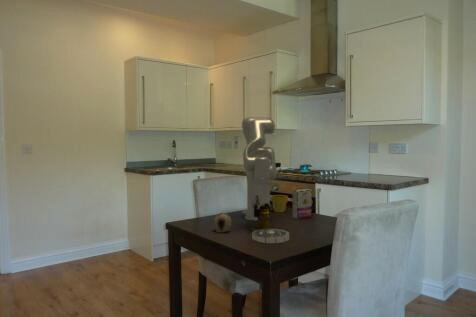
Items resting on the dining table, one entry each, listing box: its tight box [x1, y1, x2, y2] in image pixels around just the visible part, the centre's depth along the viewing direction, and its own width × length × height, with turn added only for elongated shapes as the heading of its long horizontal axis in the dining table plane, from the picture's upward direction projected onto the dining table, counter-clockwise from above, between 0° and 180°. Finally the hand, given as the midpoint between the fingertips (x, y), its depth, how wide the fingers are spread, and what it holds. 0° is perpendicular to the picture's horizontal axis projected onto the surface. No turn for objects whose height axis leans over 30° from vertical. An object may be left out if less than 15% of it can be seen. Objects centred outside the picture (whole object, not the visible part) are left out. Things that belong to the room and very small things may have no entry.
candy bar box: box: [292, 188, 313, 220], centre depth 221 cm, size 11×5×16 cm, turn 120°
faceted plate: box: [251, 228, 290, 244], centre depth 175 cm, size 17×17×2 cm
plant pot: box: [270, 194, 289, 213], centre depth 240 cm, size 10×10×10 cm
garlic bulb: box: [213, 212, 233, 233], centre depth 188 cm, size 9×8×10 cm
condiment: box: [251, 205, 270, 231], centre depth 192 cm, size 7×8×12 cm
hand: (262, 215), depth 191 cm, fingers open, 9 cm apart
